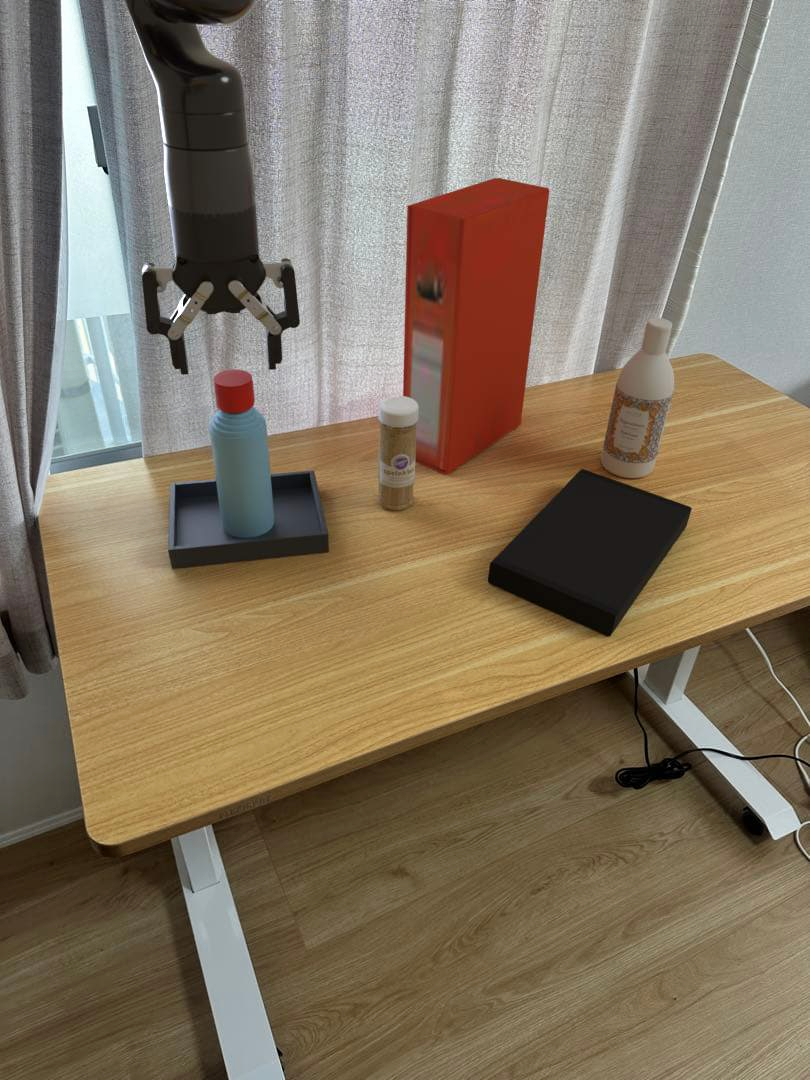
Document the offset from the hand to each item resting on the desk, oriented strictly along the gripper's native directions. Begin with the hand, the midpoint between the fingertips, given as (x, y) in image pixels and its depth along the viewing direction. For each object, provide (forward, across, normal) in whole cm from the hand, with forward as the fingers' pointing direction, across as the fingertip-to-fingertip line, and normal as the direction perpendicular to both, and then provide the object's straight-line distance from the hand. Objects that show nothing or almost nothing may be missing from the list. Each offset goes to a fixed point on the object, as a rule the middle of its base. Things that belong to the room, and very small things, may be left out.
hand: (229, 368), depth 80 cm
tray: (+21, 0, +2) cm, 21 cm away
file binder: (+20, +30, +16) cm, 40 cm away
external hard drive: (+20, +38, -11) cm, 45 cm away
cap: (+5, 0, +1) cm, 5 cm away
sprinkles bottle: (+21, +18, +3) cm, 28 cm away
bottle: (+20, 0, +1) cm, 20 cm away
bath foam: (+20, +50, +6) cm, 55 cm away
